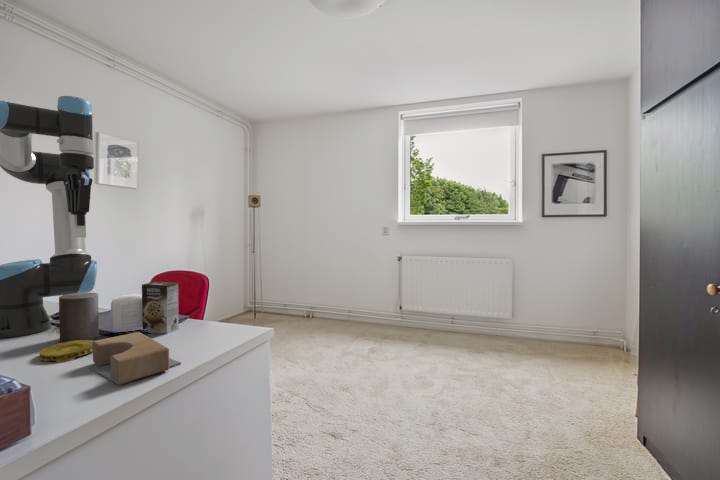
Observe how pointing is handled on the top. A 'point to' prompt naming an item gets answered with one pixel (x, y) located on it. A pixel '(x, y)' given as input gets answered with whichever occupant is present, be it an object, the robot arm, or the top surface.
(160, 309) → the coffee box
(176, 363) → the mat
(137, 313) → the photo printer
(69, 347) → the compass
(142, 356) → the decorative block
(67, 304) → the pillar candle
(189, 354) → the top surface
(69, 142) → the robot arm
